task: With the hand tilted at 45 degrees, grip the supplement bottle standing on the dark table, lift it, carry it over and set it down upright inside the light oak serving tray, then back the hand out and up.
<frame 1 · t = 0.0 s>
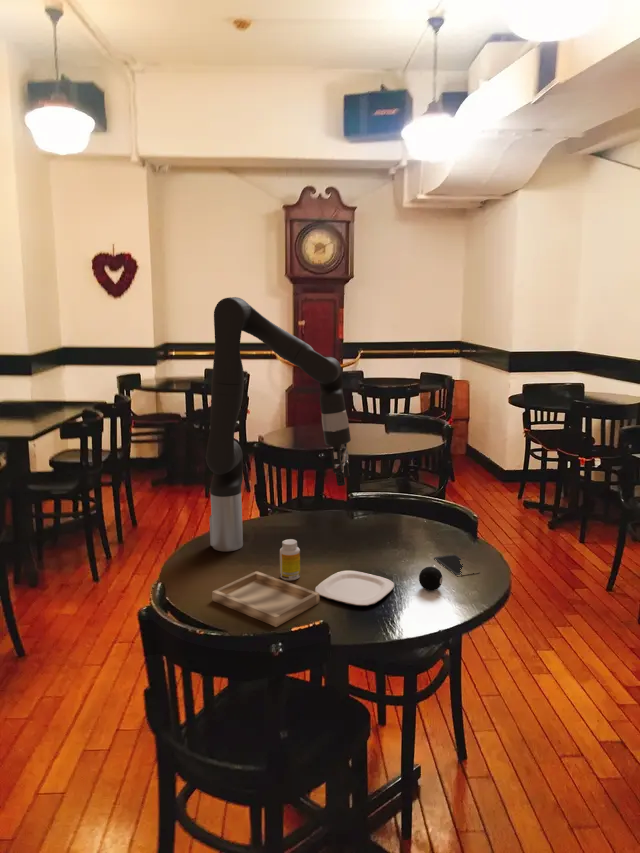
hand: (343, 481, 197), 22 cm above the table, tool pointing down, fingers open, 8 cm apart
supplement bottle: (290, 577, 185), on the table
cell phone: (456, 567, 192), on the table
plate: (354, 592, 177), on the table
serving tray: (265, 601, 171), on the table
billiard ball: (430, 589, 177), on the table
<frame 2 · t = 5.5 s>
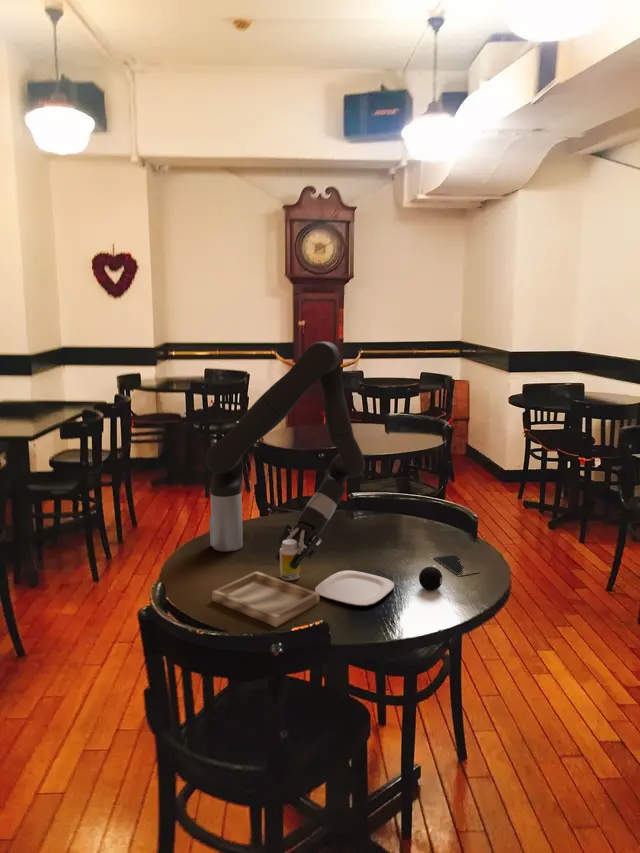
hand: (284, 564, 183), 4 cm above the table, tool tilted 45°, fingers closed on supplement bottle, 5 cm apart
supplement bottle: (290, 577, 185), on the table, touching gripper
everything else where it was.
when the fingers open (6 cm above the table, at t = 11.6 s): supplement bottle drops 1 cm, resting on serving tray.
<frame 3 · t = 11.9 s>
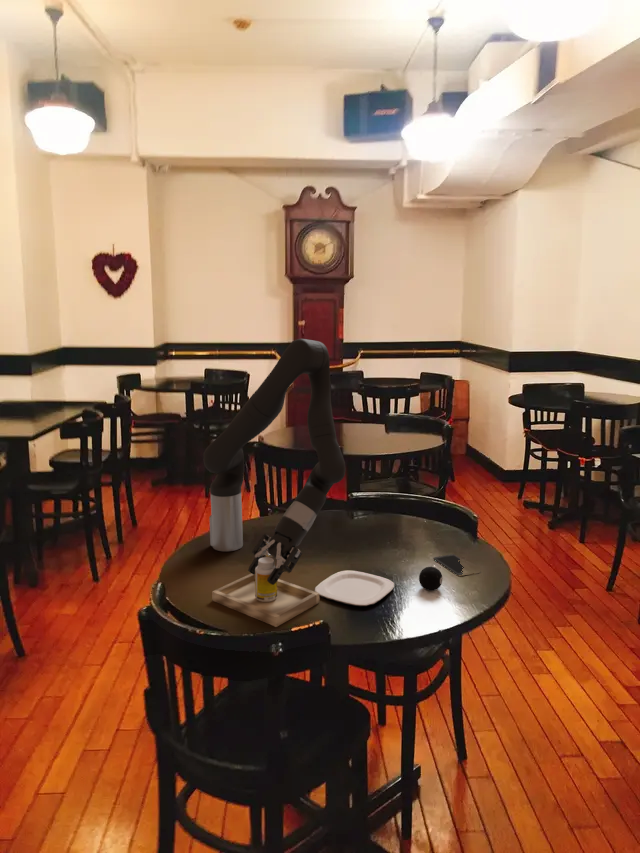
hand: (260, 577, 168), 7 cm above the table, tool tilted 45°, fingers open, 7 cm apart
supplement bottle: (266, 598, 171), point 1 cm above the table, touching serving tray
everything else where it was.
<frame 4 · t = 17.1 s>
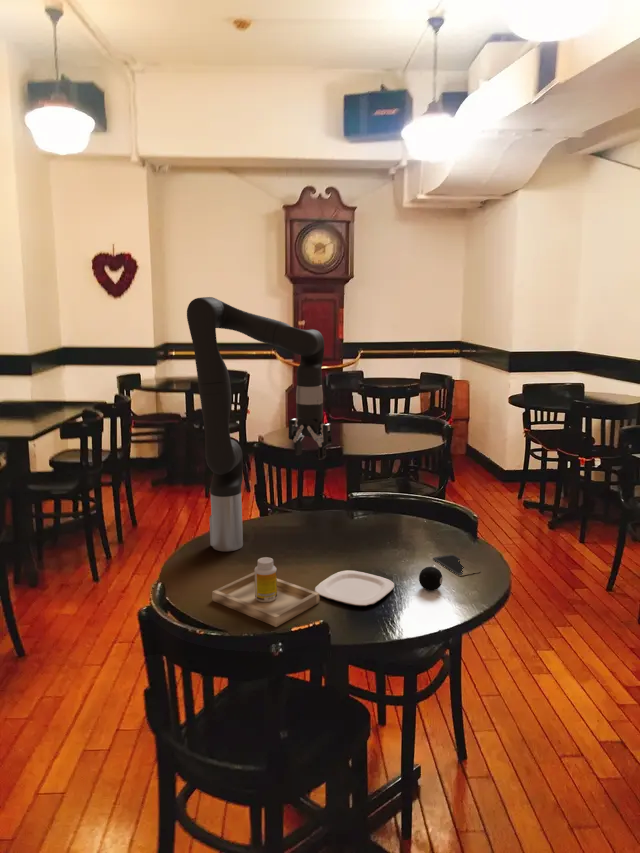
hand: (310, 457, 194), 30 cm above the table, tool pointing down, fingers open, 8 cm apart
nothing on the table moved.
at the end: supplement bottle inside the target area on the serving tray (0.2 cm from its centre), point 0.6 cm above the serving tray's base; supplement bottle tilted 0°; the gripper is holding nothing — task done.
